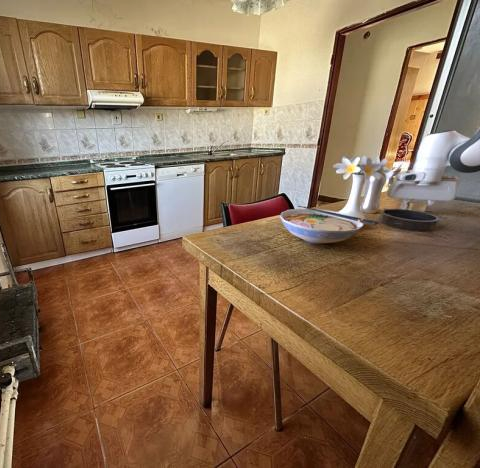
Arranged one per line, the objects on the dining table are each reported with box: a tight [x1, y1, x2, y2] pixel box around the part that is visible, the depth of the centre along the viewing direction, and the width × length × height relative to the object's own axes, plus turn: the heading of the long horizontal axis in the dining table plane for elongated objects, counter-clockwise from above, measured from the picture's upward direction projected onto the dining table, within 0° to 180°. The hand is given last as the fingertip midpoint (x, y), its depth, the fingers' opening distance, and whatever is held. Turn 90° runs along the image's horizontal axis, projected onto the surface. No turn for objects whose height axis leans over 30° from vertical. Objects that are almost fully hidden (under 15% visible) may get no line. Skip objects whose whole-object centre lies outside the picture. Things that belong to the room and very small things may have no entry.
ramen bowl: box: [279, 205, 380, 245], centre depth 82 cm, size 25×23×8 cm
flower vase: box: [332, 154, 403, 225], centre depth 88 cm, size 13×18×25 cm
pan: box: [378, 208, 440, 232], centre depth 93 cm, size 16×16×4 cm
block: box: [406, 200, 427, 213], centre depth 104 cm, size 4×4×4 cm
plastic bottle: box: [360, 165, 387, 214], centre depth 105 cm, size 6×7×20 cm
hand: (414, 210), depth 104 cm, fingers closed on block, 4 cm apart
